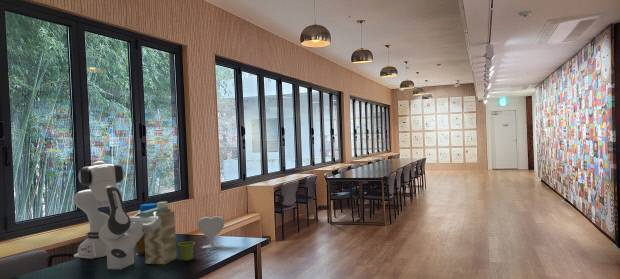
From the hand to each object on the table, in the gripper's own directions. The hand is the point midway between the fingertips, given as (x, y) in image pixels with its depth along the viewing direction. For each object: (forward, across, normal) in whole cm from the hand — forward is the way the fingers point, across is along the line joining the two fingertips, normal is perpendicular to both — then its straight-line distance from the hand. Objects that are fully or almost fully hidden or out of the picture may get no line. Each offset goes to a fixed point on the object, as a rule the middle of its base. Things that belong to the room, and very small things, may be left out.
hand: (148, 213), depth 237 cm
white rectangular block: (-15, +17, +24) cm, 33 cm away
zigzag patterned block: (-6, 0, +29) cm, 30 cm away
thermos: (+28, +32, +49) cm, 65 cm away
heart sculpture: (+23, -14, +46) cm, 53 cm away
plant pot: (-2, -13, +31) cm, 34 cm away
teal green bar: (+4, 0, +4) cm, 6 cm away
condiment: (+8, +21, +37) cm, 43 cm away
